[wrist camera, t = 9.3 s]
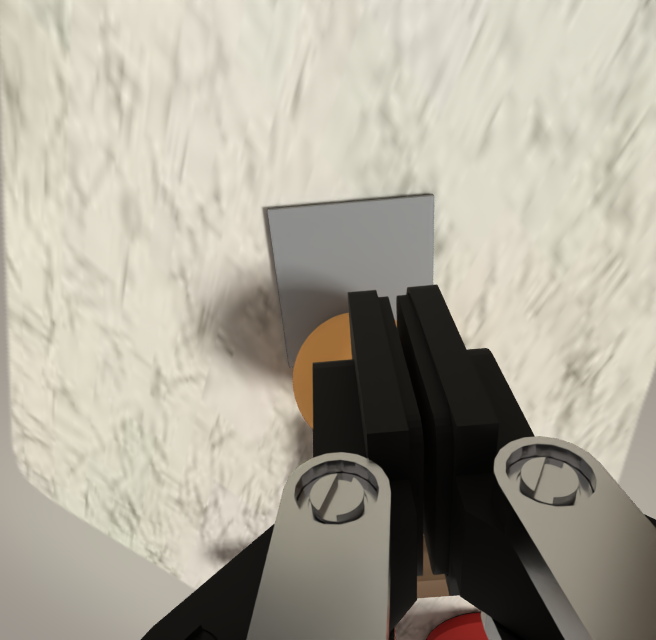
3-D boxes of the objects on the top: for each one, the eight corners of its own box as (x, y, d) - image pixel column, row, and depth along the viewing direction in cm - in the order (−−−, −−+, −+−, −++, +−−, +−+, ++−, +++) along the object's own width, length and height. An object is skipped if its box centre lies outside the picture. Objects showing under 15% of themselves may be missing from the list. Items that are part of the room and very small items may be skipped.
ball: (298, 474, 25) (302, 364, 29) (432, 471, 25) (419, 360, 29) (280, 407, 21) (288, 285, 24) (445, 401, 20) (427, 279, 24)
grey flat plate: (267, 208, 24) (267, 210, 24) (433, 194, 24) (434, 195, 24) (289, 365, 28) (289, 367, 28) (431, 353, 28) (432, 355, 28)
